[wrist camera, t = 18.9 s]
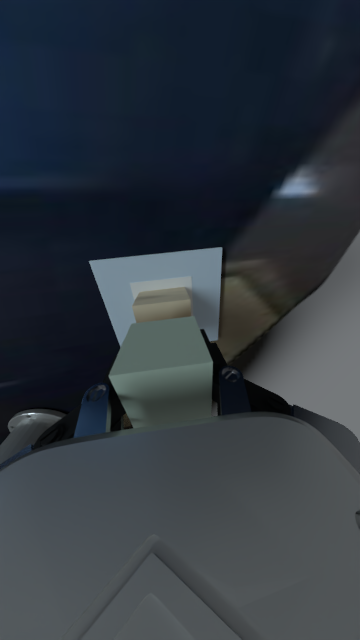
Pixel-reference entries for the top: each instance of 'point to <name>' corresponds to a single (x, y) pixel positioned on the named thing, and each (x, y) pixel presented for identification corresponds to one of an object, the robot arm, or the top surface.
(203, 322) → the board
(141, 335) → the sage block
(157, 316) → the birch block
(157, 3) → the top surface
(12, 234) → the top surface
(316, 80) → the top surface
